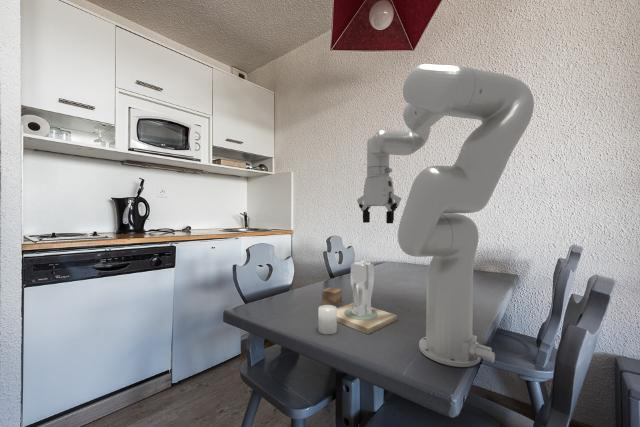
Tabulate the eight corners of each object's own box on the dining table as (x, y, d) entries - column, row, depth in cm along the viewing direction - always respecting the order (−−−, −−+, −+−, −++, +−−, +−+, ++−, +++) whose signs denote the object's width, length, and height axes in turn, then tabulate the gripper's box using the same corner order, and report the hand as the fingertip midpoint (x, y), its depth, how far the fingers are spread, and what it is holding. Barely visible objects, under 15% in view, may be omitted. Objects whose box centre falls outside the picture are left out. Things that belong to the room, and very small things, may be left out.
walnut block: (341, 303, 95) (341, 289, 95) (335, 307, 91) (335, 292, 91) (329, 301, 98) (329, 287, 98) (322, 305, 94) (322, 290, 94)
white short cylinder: (340, 330, 73) (340, 308, 73) (327, 336, 70) (327, 312, 70) (327, 324, 77) (327, 303, 77) (314, 330, 74) (314, 307, 74)
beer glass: (373, 318, 77) (374, 265, 77) (349, 316, 79) (349, 264, 79) (373, 309, 84) (374, 261, 84) (351, 308, 86) (351, 260, 86)
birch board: (397, 320, 81) (397, 314, 81) (368, 334, 71) (368, 327, 71) (355, 306, 92) (355, 301, 92) (325, 317, 83) (325, 311, 83)
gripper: (406, 171, 90) (406, 223, 90) (364, 176, 103) (364, 222, 103) (394, 169, 85) (393, 224, 85) (351, 174, 98) (351, 222, 98)
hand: (377, 222), depth 94 cm, fingers open, 9 cm apart
